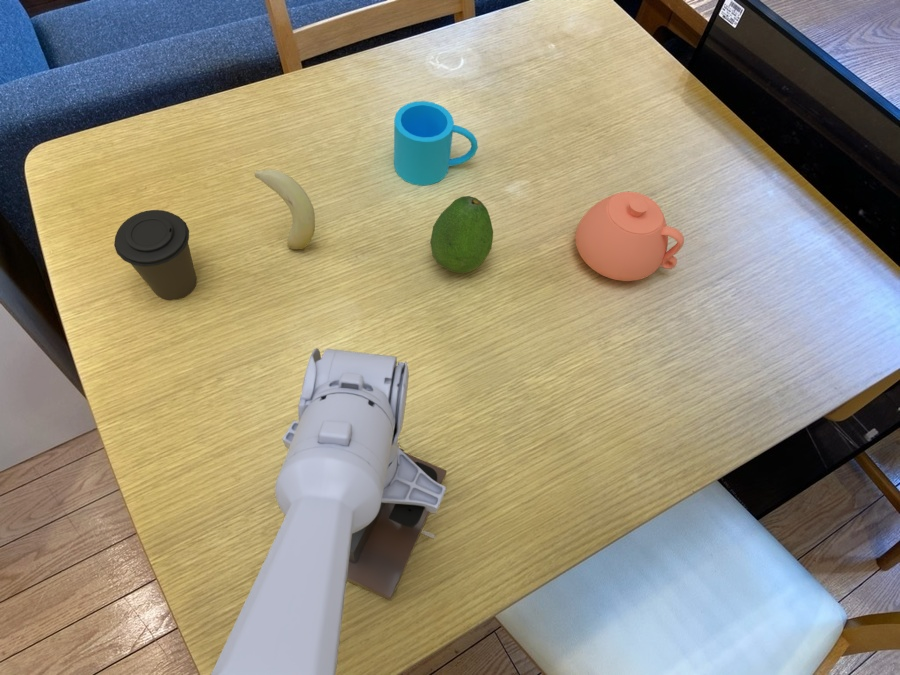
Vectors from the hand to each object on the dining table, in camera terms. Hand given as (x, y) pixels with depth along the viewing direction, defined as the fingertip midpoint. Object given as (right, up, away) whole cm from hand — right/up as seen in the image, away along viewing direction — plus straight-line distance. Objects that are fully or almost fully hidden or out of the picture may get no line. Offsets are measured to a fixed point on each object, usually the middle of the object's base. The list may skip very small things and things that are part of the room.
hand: (366, 494), depth 61 cm
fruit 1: (-13, +28, +23) cm, 38 cm away
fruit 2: (+9, +25, +24) cm, 36 cm away
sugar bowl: (+32, +26, +27) cm, 49 cm away
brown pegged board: (-1, -3, +6) cm, 7 cm away
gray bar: (0, -2, +4) cm, 4 cm away
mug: (+6, +41, +32) cm, 52 cm away
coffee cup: (-27, +22, +18) cm, 39 cm away
